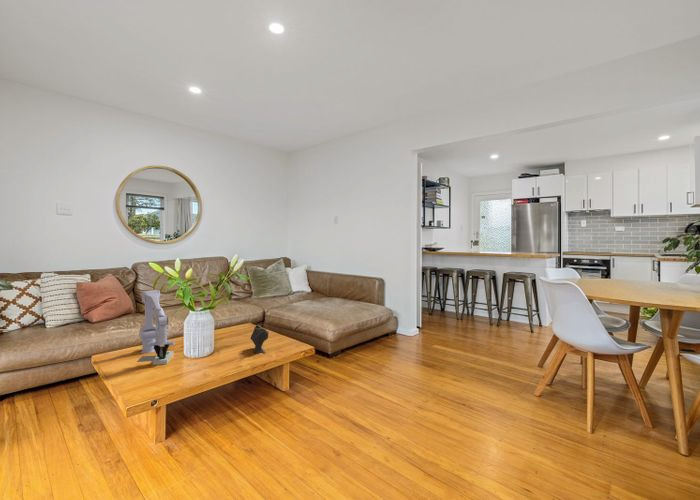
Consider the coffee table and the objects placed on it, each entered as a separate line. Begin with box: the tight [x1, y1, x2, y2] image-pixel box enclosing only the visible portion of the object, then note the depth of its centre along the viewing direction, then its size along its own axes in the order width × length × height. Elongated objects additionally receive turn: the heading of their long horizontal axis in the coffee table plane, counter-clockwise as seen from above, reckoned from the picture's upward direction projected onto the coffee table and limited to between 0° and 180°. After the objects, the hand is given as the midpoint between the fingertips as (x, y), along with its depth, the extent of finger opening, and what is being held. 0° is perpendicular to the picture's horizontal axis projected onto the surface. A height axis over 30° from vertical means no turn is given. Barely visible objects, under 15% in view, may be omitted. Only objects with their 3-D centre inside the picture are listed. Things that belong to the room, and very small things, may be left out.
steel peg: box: [159, 345, 165, 359], centre depth 211 cm, size 3×3×9 cm
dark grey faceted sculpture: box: [250, 324, 269, 355], centre depth 240 cm, size 14×15×18 cm
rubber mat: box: [136, 354, 157, 363], centre depth 216 cm, size 10×10×1 cm
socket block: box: [152, 350, 174, 366], centre depth 215 cm, size 16×8×3 cm, turn 15°
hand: (161, 356), depth 211 cm, fingers closed on steel peg, 3 cm apart
